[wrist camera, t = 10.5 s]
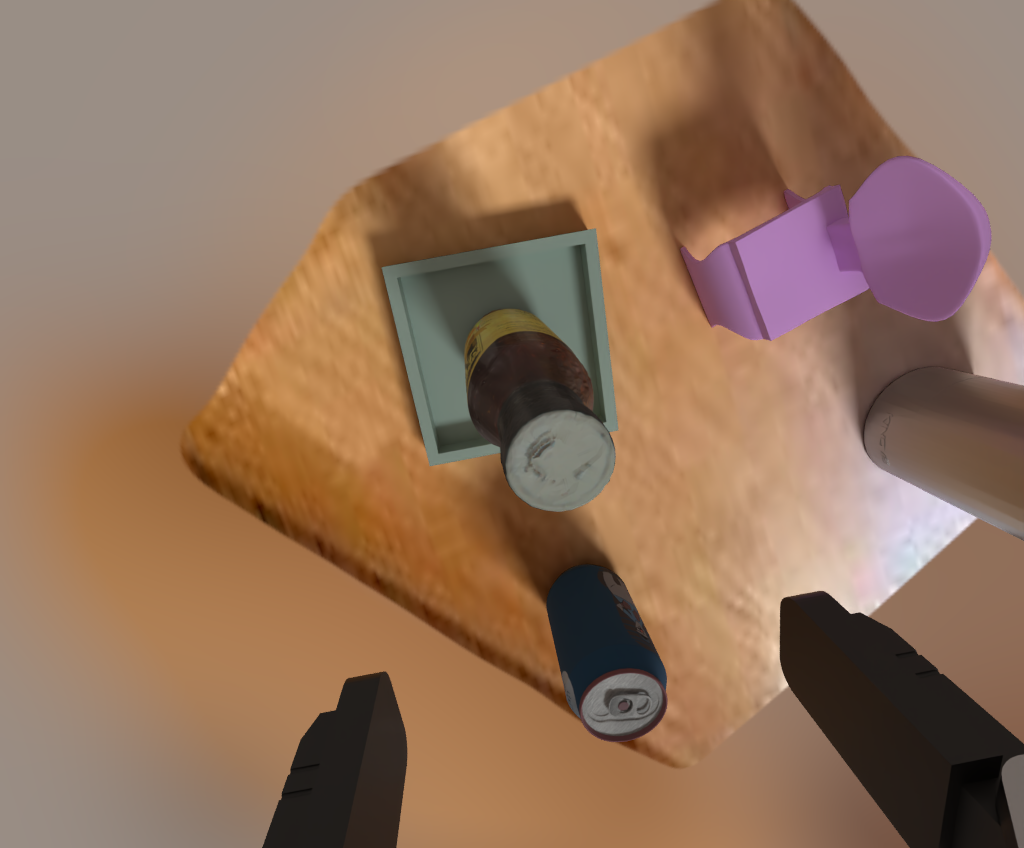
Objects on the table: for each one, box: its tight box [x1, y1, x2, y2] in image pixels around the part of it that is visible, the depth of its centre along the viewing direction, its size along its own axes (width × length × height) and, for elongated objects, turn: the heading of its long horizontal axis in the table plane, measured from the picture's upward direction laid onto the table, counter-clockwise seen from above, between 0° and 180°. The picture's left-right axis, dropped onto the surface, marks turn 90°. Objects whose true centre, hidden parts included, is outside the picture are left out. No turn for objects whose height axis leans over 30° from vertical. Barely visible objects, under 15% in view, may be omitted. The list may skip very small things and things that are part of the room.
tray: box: [382, 229, 618, 466], centre depth 36 cm, size 14×14×2 cm
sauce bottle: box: [464, 309, 616, 512], centre depth 27 cm, size 6×6×20 cm
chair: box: [680, 156, 991, 341], centre depth 29 cm, size 8×9×15 cm
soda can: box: [547, 564, 667, 742], centre depth 38 cm, size 7×7×12 cm
